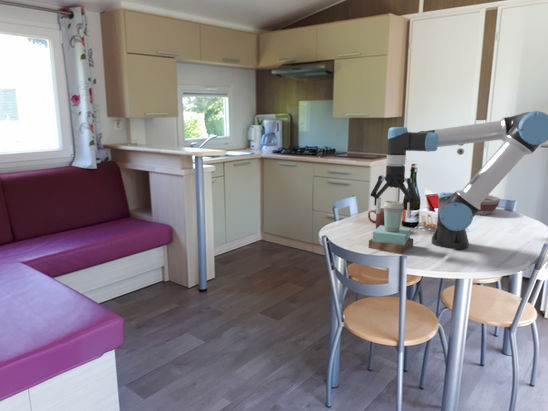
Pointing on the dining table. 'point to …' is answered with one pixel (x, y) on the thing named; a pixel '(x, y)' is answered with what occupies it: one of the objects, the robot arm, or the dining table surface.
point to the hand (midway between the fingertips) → (393, 215)
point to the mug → (378, 217)
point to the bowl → (488, 205)
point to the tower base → (391, 246)
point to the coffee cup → (393, 215)
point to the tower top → (391, 235)
